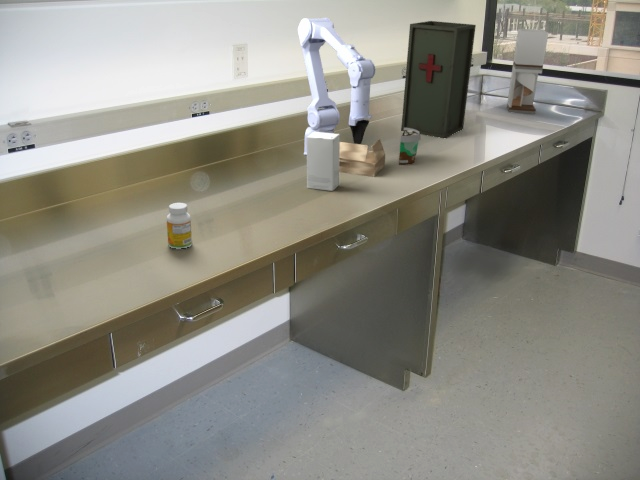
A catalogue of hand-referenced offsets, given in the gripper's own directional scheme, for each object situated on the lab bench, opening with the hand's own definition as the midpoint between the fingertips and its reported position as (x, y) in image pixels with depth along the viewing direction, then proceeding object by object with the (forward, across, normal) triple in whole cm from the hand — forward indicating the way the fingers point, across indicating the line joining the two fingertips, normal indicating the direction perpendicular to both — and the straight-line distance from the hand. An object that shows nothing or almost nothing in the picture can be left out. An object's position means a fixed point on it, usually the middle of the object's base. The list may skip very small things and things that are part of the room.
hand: (357, 143), depth 207 cm
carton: (+8, +1, 0) cm, 8 cm away
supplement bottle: (+8, -76, +18) cm, 79 cm away
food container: (+8, +14, -14) cm, 21 cm away
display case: (+8, +117, -41) cm, 124 cm away
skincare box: (+8, -23, +3) cm, 25 cm away
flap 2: (+4, -1, -8) cm, 9 cm away
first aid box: (+8, +61, -12) cm, 63 cm away
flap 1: (+3, -7, 0) cm, 8 cm away
